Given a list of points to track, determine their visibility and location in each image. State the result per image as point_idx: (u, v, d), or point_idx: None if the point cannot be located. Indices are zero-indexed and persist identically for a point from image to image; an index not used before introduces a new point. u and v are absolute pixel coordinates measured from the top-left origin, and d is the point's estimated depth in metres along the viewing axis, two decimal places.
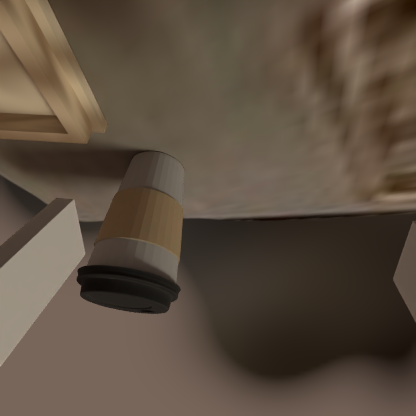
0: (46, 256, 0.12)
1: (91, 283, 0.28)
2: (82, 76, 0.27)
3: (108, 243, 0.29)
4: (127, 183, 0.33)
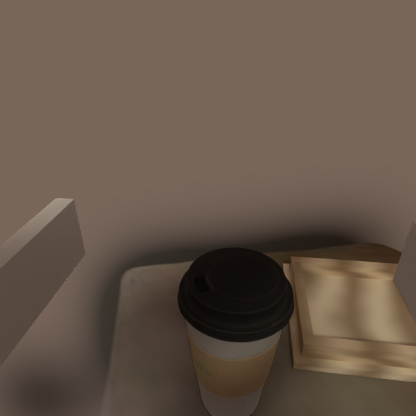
0: (46, 256, 0.12)
1: None
2: (349, 373, 0.35)
3: None
4: None
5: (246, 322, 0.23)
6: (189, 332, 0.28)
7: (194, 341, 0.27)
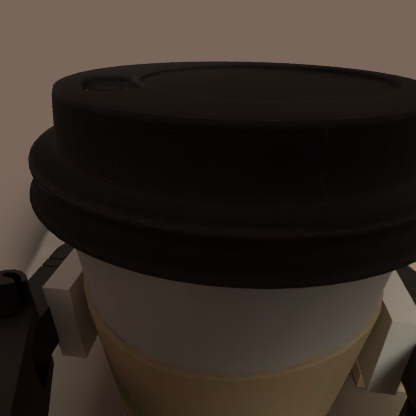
0: None
1: None
2: None
3: None
4: None
5: (296, 183, 0.04)
6: (86, 281, 0.09)
7: (94, 309, 0.08)
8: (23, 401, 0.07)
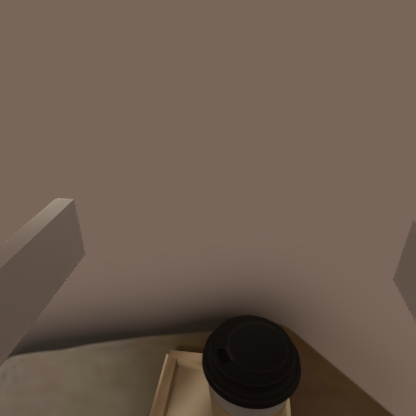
0: (46, 256, 0.12)
1: None
2: None
3: None
4: None
5: (261, 392, 0.28)
6: (211, 391, 0.33)
7: (216, 400, 0.32)
8: None
